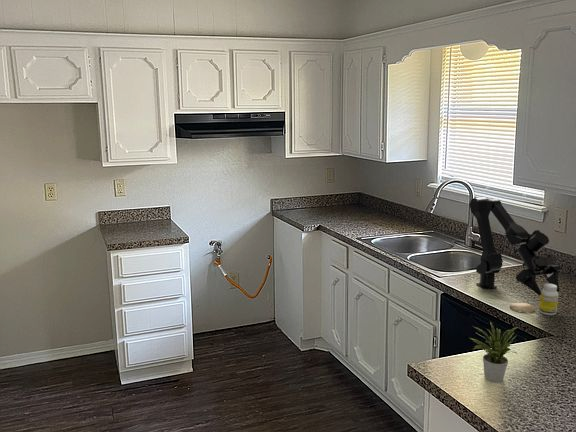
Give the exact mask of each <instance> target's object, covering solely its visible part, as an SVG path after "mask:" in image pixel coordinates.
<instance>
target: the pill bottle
mask: <svg viewBox="0 0 576 432" xmlns="http://www.w3.org/2000/svg"><path fill="white" fill-rule="evenodd" d="M556 290H557V286H556V285H554V284H549V283H544V284H543V289H542V290H540V291H541V295H540V296H539V306H538V307H539V308H538V309H539V310H538V311H539V313H540V314H542V315H546V316H555V315H556V314H557V311H558V302H559V292H557V291H556Z"/></svg>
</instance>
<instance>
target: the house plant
mask: <svg viewBox="0 0 576 432" xmlns="http://www.w3.org/2000/svg"><path fill="white" fill-rule="evenodd" d="M489 323H490V327H491V331H490V330H489V329H488V328H486V330H487V331H488V332H489V333H490V335H488V333H487V332H486V331H485V330H483V329H481V328H480V327H476V326H473V325H472V327H473V328H475V329H477V330H476V331H477V332H480V333H482V334H483V335H484V336H483V335H481V338H482V337H483V338H485V343H484V342H482V341H481V340H478V339H476V338H472V337H469V339H470V340H472V341H473V342H474V343H476V345H475V346H473V347H474V348H473V350H475V349H476V350H477V349H479V350H480V349H482V350H484V352H485V353H486V354H484V355H483V356H482V363H483V373H484V374H483V375H484V379H485V380H487V381H488V382H491V383H502V382H503V381H504V377H505V373H506V370H507V367H508V364H509V359H508V358H507V357H505V355H506V354H508V353H509V354H510V351H511V350H512V348H510V347H513V345H512V343H513V340H514V339H515V338H516V337H517V335H515V336H514V337H513V335H514V334H515V330H516V329H517V328H519V326H515V327H513V328H511V329H508V330H505V331H504V332H503V333H502V335H501V329H500V328H499V329H498V327H495V326H494V325H493V323H492V322H491V321H489ZM495 328H496V329H495ZM477 335H479V336H480V334H477ZM511 338H512V339H511ZM509 340H510V341H509ZM486 343H488V344H486ZM513 353H515V354H516V355H518V353H517V352H516V351H513Z"/></svg>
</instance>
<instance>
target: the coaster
mask: <svg viewBox="0 0 576 432" xmlns="http://www.w3.org/2000/svg"><path fill="white" fill-rule="evenodd" d="M509 308H510V309H511V310H512V309H513V310H512V311H514V310H516V311H515V312H517V311H521V312H520V313H523V312H530V313H533V311H534V312H535V310H536V308H535V306H533V305H532V304H529V303H526V302H512V303H510V304H509Z"/></svg>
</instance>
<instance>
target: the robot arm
mask: <svg viewBox="0 0 576 432" xmlns="http://www.w3.org/2000/svg"><path fill="white" fill-rule="evenodd" d="M469 209H470V211H471V214H472V215H473V216H474V217H475V219H476V222H477V227H478V233H479V237H480V243H481V247H482V248H481V249H482V253H481V256H480V263H479V264H478V265H477V266H476V267H475V271H476V272H475V273H477V274H479V282H476V283H475V284H476V285H477V286H478V287H480V288H482V289H484V290H485V289H486V290H487V289H497V288H498V286H497V285H495V282H496V281H495V280H496V279H495V277H496V275H495V274H499V273H500V271H501V269H502V267H503V262H504V260H503V259H502V258H503V257H502V253H501V252H498V251H497V250H496V248H495V243H494V239H493V238H494V237H493V232H492V228H491V223H490V218H489V216H490V214H491V213H492V214H493V216H494V217H495V218H496V219H497V221H498V222H499V224H500V225H501V227H502V228H503V229H504V231H505V232H504V234H505V237H506V240H507V241H508V243H509V244H510V245H512V246H516V247H515V248H514V251H513V254H514V255H517V254H519V256H520V258H521V260H522V262H523V263H522V266H523V267H526V269H522V270H521V271H519V272H518V273H517V274H516V275H515V279H516V281H517V283H518V284H519V283H521V284H522V285H524V286H526V287H527V288H529V289H530V290H532V291H533V292H534V293H536V295H538V296H541V291H542V290H541V289H540V287H539V285H538V283H537V281H536V277H541V276H544V277H545V278H546V279H545V280H546V281H547V282H548V284H554V285H556V286H557V290H556V291H557V292H558V293H559V292H560V286H559V274H561V272H562V271H563V268H562V267H561V266H560V265H558V264H555V262H557V258H556V255H554V254H553V253H549V254H547V255H546V256H543V257H542V255H538V254H537V253H539V252H540V251H541V250H542V249H543V248H545V247H546V246H547V245H548V244H549V243H550V239H549V237H548V236H547V235H546V234H545V233H543V232H541V231H540V229H537V230H534V231H532V233H529V232H528V231H527V230H526V229H525V228H524V227H523V226H521V224H517V222H515V220H514V219H513V218H512V216H511V215H510V214H509V212H508V211H507V210H506V208H505V207H504V206H503V204H502V202H501V200H499V199H489V198H487V197H485V196H484V197H473V198H471V200H470V202H469ZM517 245H519V246H517ZM549 265H550V266H549Z"/></svg>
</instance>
